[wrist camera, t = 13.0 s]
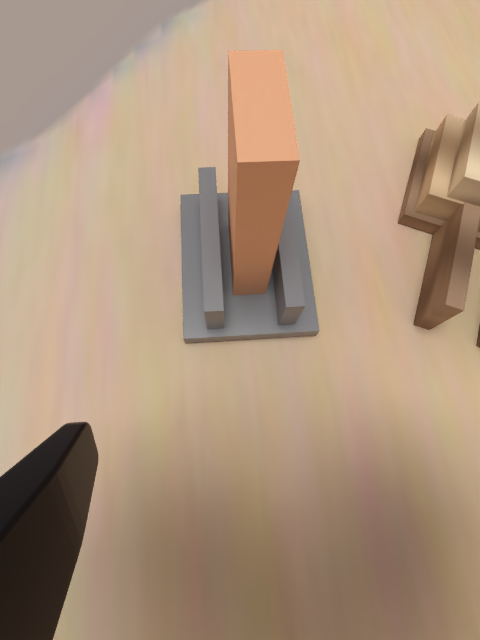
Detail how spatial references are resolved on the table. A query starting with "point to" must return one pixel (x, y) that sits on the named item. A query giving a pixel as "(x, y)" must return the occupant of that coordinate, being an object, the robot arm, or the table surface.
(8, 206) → the table surface
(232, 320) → the holder
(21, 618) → the robot arm
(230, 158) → the tall peach slab
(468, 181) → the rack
